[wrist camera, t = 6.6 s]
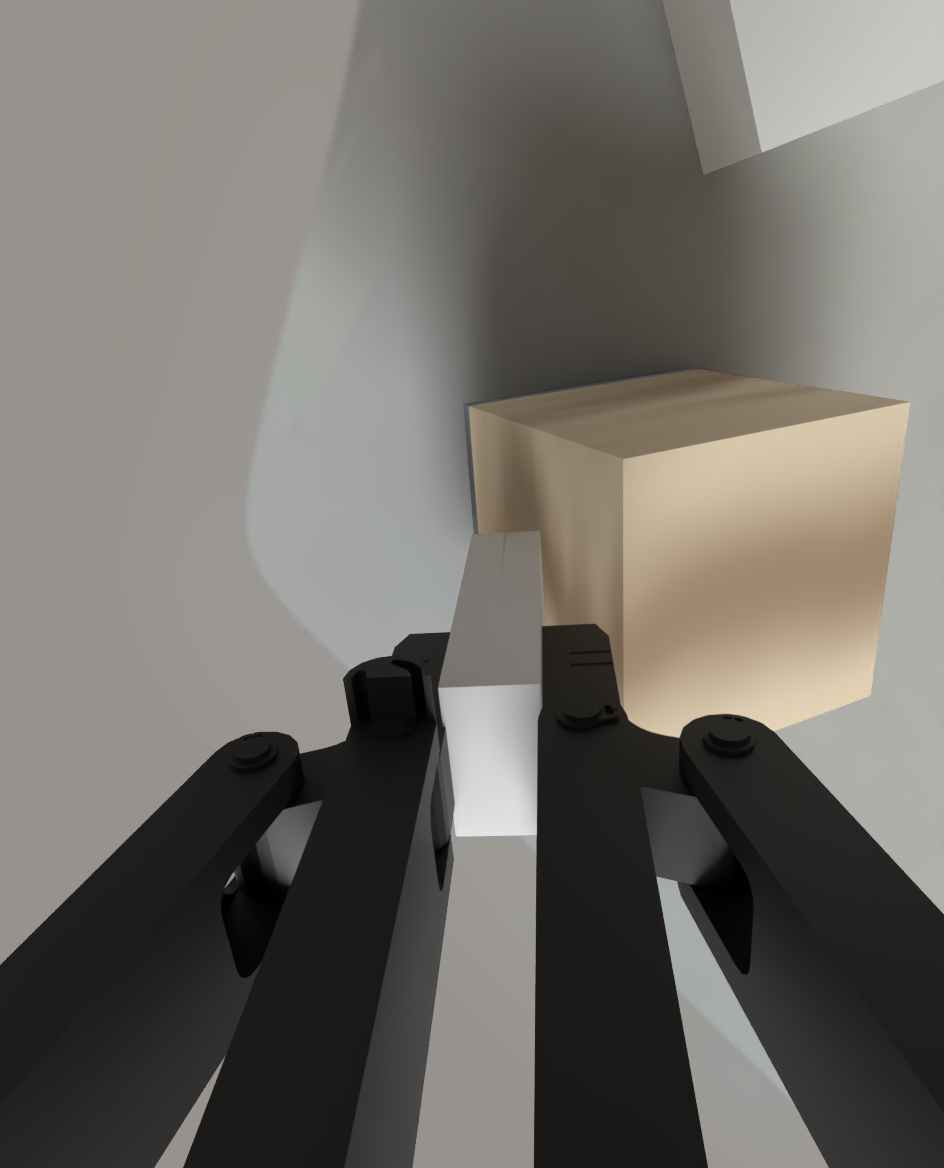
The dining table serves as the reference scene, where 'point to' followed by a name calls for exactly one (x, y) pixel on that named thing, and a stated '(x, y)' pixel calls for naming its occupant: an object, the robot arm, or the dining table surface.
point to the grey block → (796, 66)
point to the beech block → (704, 533)
